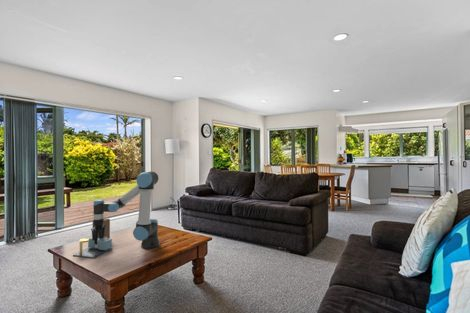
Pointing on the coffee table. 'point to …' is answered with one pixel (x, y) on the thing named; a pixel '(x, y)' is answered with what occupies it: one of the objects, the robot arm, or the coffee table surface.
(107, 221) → the wooden block
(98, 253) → the plate
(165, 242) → the coffee table surface
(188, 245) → the coffee table surface
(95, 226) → the robot arm
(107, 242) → the link
